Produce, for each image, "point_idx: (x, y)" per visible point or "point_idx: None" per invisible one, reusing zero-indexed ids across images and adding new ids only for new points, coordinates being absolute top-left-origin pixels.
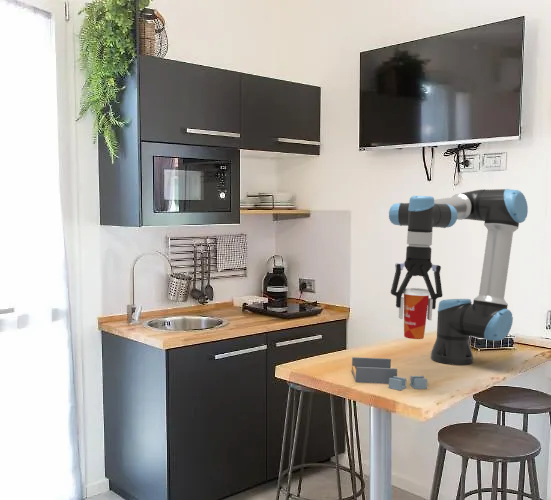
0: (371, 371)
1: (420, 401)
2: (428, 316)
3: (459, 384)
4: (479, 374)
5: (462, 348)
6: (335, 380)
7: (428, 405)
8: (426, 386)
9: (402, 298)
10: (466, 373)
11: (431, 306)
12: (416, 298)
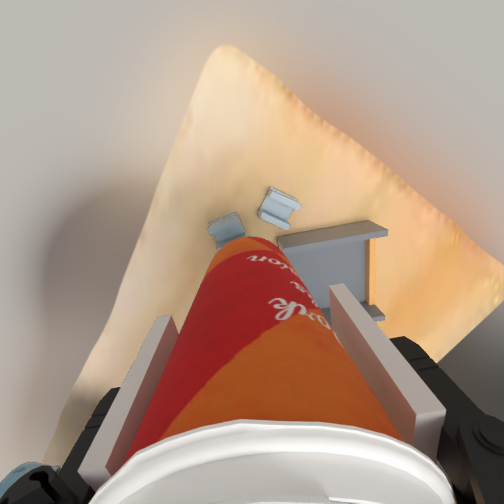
0: (344, 233)
1: (222, 106)
2: (172, 343)
3: (141, 280)
4: (108, 362)
5: None
6: (412, 220)
7: (202, 74)
8: (210, 224)
9: (426, 407)
10: (134, 360)
11: (124, 392)
12: (271, 387)
